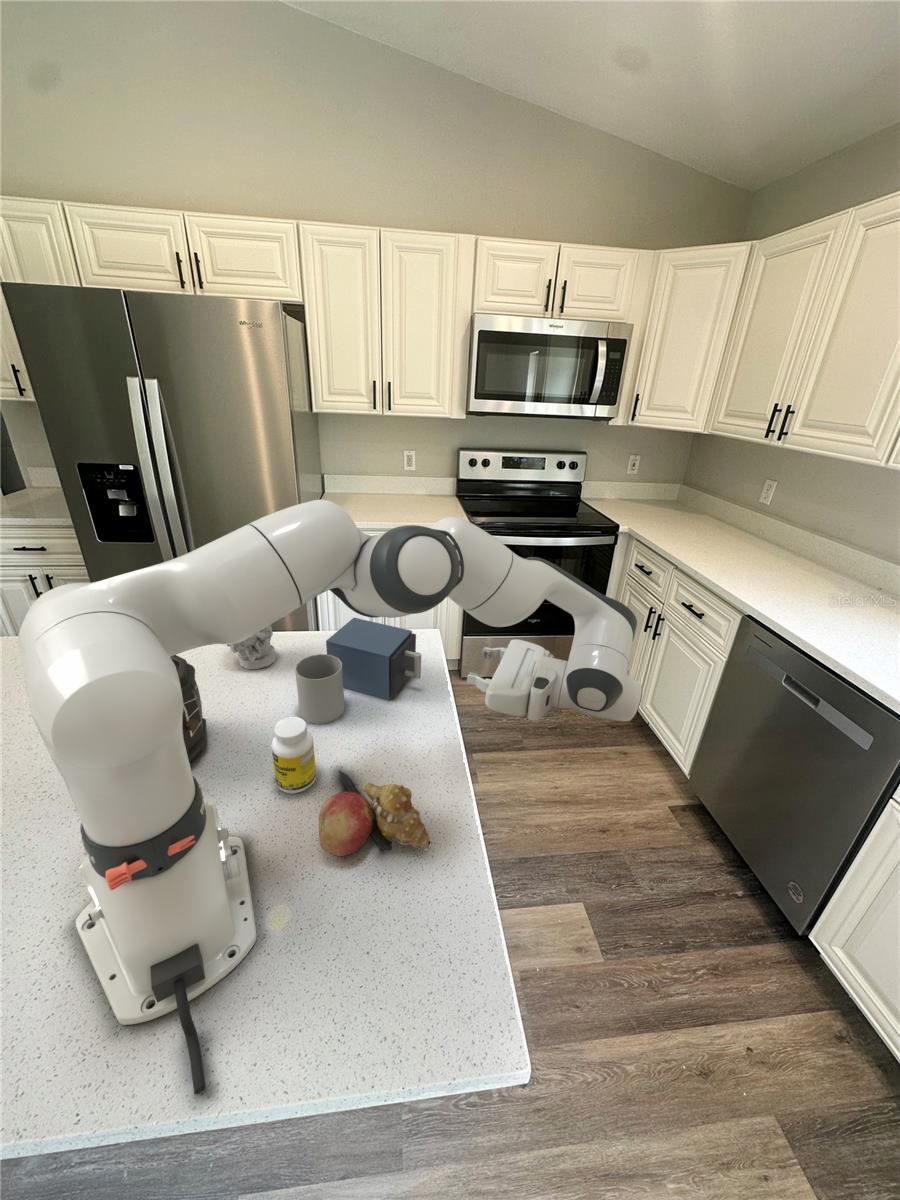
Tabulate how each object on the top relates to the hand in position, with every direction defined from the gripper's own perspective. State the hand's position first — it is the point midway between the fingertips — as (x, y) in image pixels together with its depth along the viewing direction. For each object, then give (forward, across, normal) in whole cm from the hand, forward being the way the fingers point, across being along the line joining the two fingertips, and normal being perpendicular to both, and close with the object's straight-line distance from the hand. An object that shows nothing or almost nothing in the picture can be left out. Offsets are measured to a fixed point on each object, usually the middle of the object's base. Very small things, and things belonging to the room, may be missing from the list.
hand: (475, 664), depth 94 cm
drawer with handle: (+20, 0, +9) cm, 22 cm away
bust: (+49, -4, +10) cm, 50 cm away
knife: (+8, +31, +9) cm, 33 cm away
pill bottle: (+20, +30, +10) cm, 37 cm away
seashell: (+6, +33, +8) cm, 35 cm away
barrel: (+46, +34, +10) cm, 58 cm away
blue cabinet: (+23, 0, +10) cm, 25 cm away
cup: (+26, +13, +10) cm, 31 cm away
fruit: (+10, +33, +6) cm, 35 cm away
